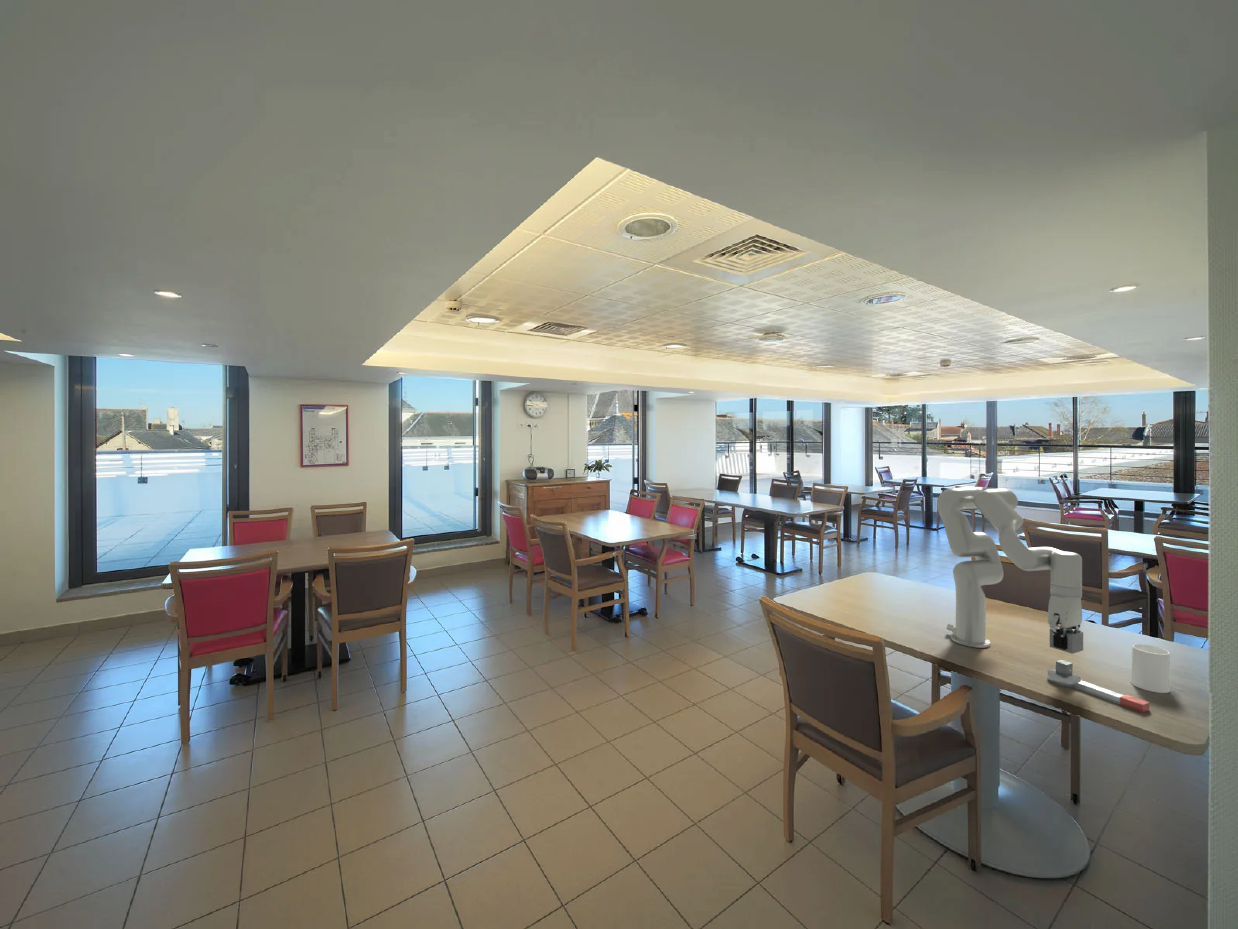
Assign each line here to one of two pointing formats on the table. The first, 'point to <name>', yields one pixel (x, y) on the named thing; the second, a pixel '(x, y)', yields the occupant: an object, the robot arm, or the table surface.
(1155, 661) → the mug
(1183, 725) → the table surface
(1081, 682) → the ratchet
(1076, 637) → the cube with domed knob
